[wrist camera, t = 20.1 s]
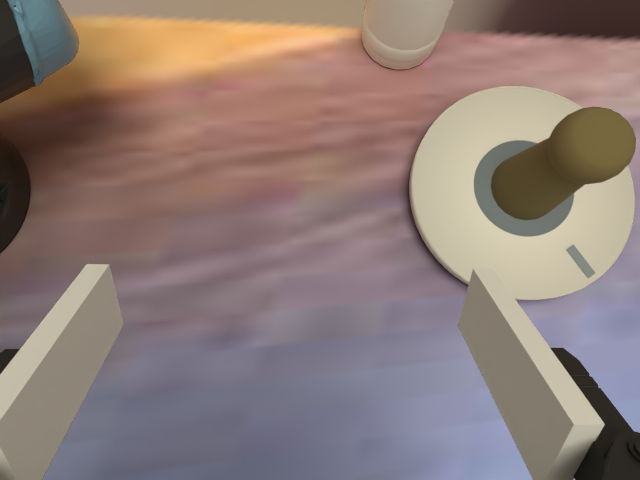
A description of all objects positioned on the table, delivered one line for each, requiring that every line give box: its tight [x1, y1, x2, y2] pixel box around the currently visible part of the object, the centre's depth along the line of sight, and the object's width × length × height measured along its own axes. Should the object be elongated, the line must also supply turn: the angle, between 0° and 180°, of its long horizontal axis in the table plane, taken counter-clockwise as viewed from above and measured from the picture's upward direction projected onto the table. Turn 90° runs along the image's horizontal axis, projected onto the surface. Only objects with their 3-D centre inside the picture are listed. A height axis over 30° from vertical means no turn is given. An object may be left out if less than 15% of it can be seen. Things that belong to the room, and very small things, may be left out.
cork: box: [491, 107, 636, 220], centre depth 33 cm, size 6×6×11 cm
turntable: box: [409, 86, 635, 300], centre depth 39 cm, size 20×20×2 cm
